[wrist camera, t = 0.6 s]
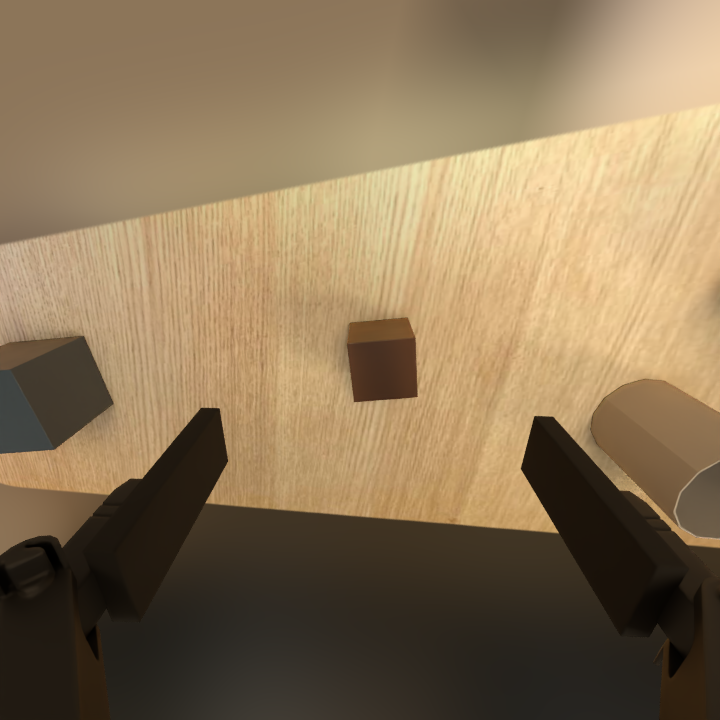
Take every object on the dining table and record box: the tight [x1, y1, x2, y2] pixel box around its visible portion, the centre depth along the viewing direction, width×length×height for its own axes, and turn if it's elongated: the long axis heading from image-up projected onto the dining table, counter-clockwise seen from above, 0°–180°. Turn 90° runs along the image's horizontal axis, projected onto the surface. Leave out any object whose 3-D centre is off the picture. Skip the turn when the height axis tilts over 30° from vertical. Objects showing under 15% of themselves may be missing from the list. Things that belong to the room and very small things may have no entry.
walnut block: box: [347, 318, 418, 402], centre depth 29 cm, size 5×5×5 cm
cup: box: [591, 379, 720, 539], centre depth 29 cm, size 8×8×10 cm
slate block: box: [0, 336, 113, 454], centre depth 29 cm, size 7×7×7 cm
